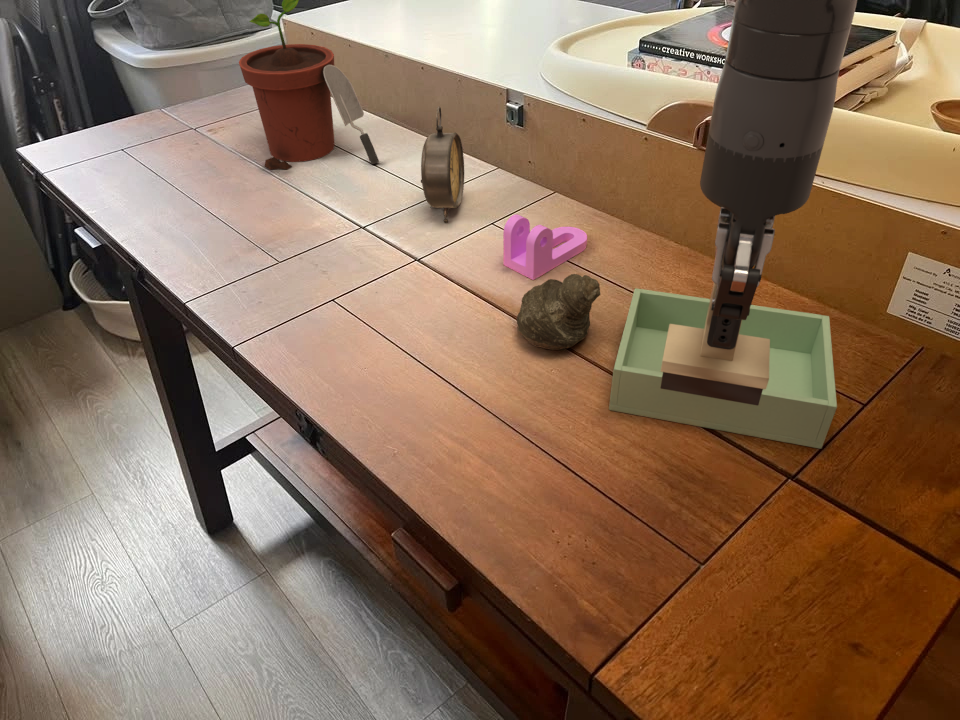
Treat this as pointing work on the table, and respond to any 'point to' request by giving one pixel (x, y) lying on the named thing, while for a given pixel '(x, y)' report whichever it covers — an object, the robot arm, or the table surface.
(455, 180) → the alarm clock
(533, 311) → the seashell
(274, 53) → the potted plant
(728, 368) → the base with upright post
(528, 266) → the bracket
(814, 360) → the bin
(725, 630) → the table surface
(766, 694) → the table surface
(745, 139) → the robot arm
